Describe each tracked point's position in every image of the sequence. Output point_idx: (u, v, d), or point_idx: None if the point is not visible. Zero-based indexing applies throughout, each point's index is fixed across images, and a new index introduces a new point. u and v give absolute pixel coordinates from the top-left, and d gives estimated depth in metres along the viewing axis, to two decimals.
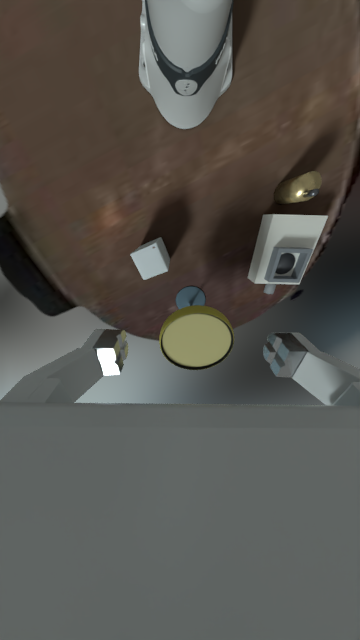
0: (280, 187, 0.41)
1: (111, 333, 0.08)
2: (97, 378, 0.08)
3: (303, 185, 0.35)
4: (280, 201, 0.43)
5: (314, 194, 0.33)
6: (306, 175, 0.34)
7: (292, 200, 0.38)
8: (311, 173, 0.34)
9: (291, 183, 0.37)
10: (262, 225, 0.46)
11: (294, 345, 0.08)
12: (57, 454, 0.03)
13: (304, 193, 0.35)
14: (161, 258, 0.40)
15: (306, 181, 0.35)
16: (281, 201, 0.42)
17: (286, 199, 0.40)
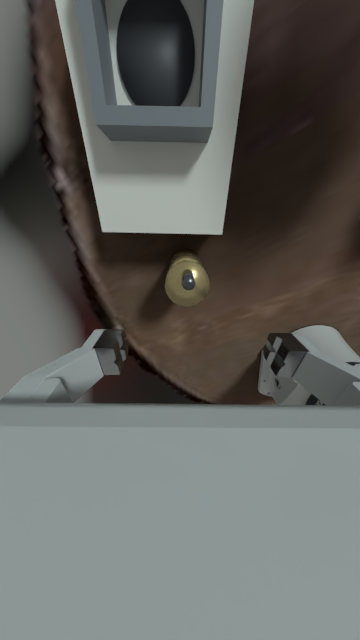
0: None
1: (111, 333, 0.08)
2: (97, 378, 0.08)
3: (197, 288, 0.18)
4: (195, 255, 0.24)
5: (189, 280, 0.15)
6: (197, 301, 0.19)
7: (196, 261, 0.19)
8: (189, 303, 0.19)
9: None
10: None
11: (294, 345, 0.08)
12: (57, 454, 0.03)
13: (193, 276, 0.17)
14: None
15: (194, 294, 0.19)
16: (195, 255, 0.23)
17: (198, 260, 0.21)
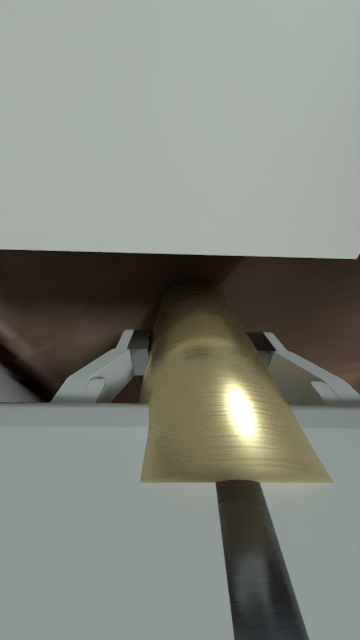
0: None
1: (142, 334, 0.08)
2: (129, 378, 0.08)
3: None
4: (221, 298, 0.09)
5: None
6: None
7: (249, 359, 0.05)
8: None
9: None
10: None
11: (263, 344, 0.08)
12: (57, 454, 0.03)
13: None
14: None
15: None
16: (222, 300, 0.09)
17: (242, 329, 0.07)
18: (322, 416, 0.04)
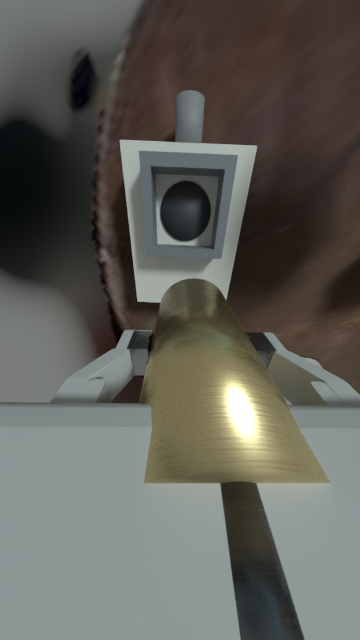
0: None
1: (142, 334, 0.08)
2: (129, 378, 0.08)
3: None
4: (221, 299, 0.09)
5: None
6: None
7: (249, 361, 0.05)
8: None
9: None
10: None
11: (263, 344, 0.08)
12: (57, 454, 0.03)
13: None
14: None
15: None
16: (222, 301, 0.09)
17: (241, 331, 0.07)
18: (322, 416, 0.04)
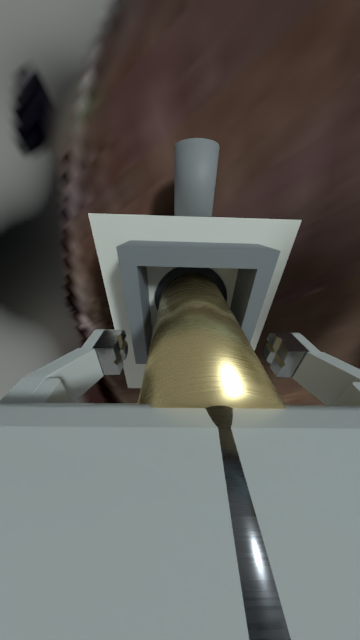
0: None
1: (111, 333, 0.08)
2: (97, 378, 0.08)
3: None
4: (215, 290, 0.11)
5: None
6: None
7: (234, 334, 0.06)
8: None
9: None
10: None
11: (294, 344, 0.08)
12: (57, 454, 0.03)
13: None
14: None
15: None
16: (216, 292, 0.10)
17: (231, 314, 0.08)
18: (322, 416, 0.04)
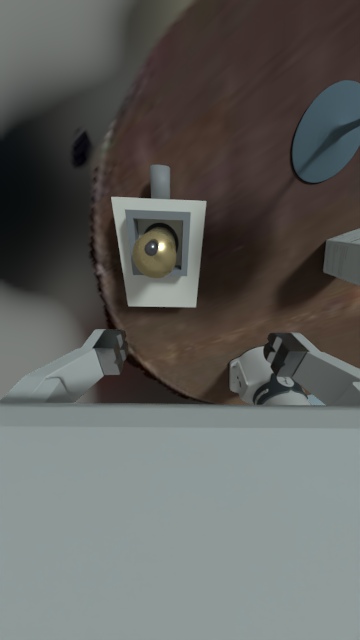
0: None
1: (111, 333, 0.08)
2: (97, 378, 0.08)
3: (165, 258, 0.19)
4: (168, 231, 0.24)
5: (151, 245, 0.15)
6: (165, 272, 0.20)
7: (164, 233, 0.20)
8: (158, 275, 0.20)
9: None
10: None
11: (294, 345, 0.08)
12: (57, 454, 0.03)
13: (159, 246, 0.18)
14: None
15: (162, 265, 0.19)
16: (167, 231, 0.24)
17: (169, 234, 0.22)
18: (322, 416, 0.04)
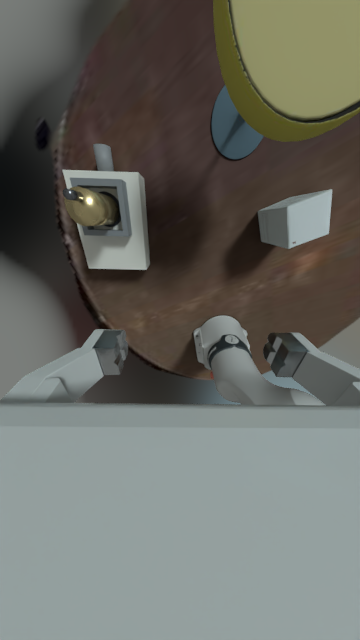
0: (115, 214, 0.32)
1: (111, 333, 0.08)
2: (97, 378, 0.08)
3: (90, 208, 0.25)
4: (106, 196, 0.30)
5: (67, 190, 0.21)
6: (93, 221, 0.26)
7: (93, 191, 0.26)
8: (88, 223, 0.26)
9: (106, 215, 0.28)
10: (148, 254, 0.43)
11: (294, 344, 0.08)
12: (57, 454, 0.03)
13: (82, 197, 0.24)
14: (289, 227, 0.30)
15: (89, 214, 0.25)
16: (105, 196, 0.30)
17: (101, 195, 0.28)
18: (322, 416, 0.04)
